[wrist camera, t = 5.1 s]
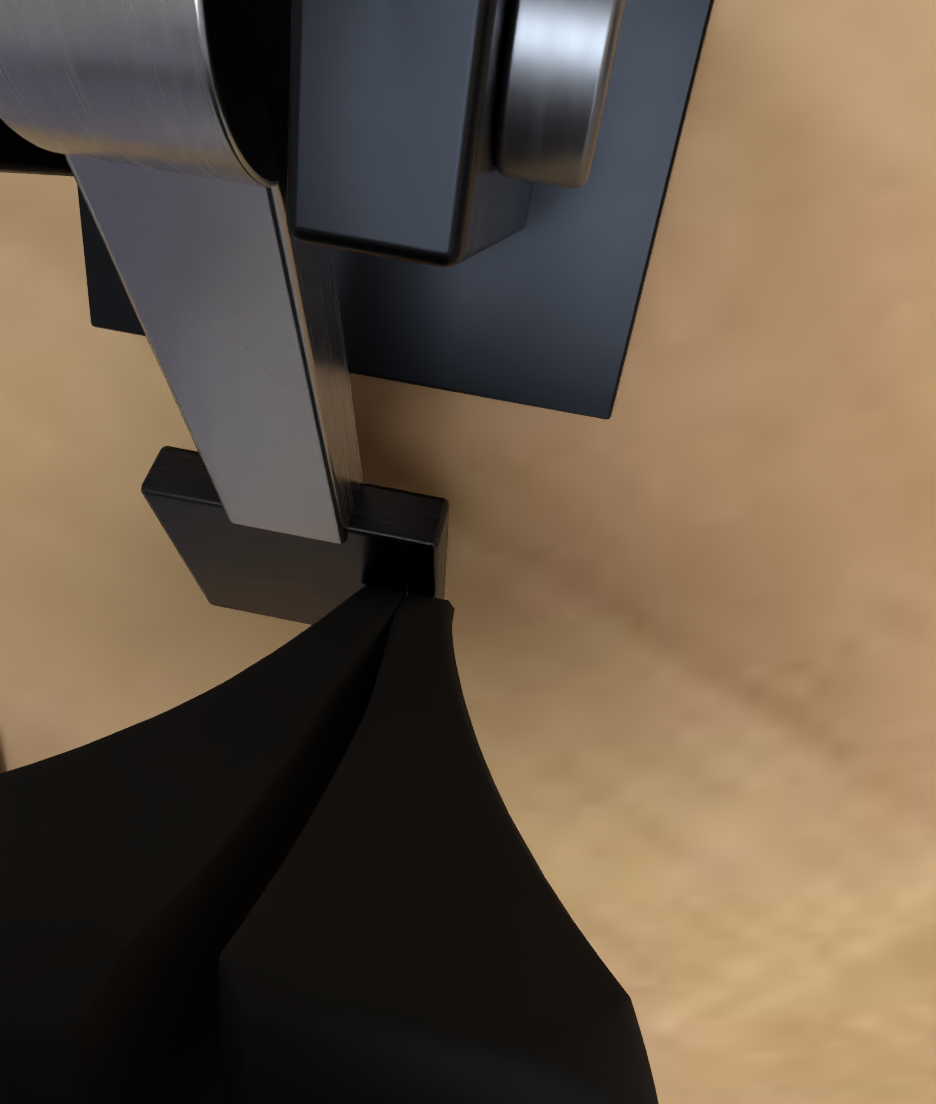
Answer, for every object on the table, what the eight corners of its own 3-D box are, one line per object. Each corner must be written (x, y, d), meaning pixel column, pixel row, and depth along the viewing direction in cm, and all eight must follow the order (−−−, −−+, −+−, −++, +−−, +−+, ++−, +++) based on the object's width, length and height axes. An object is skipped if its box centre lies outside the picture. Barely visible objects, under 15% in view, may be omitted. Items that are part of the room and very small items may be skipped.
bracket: (606, 403, 11) (658, 674, 5) (126, 317, 12) (-427, 459, 5) (753, -198, 8) (1529, -1895, 2) (79, -290, 8) (-1568, -1947, 2)
